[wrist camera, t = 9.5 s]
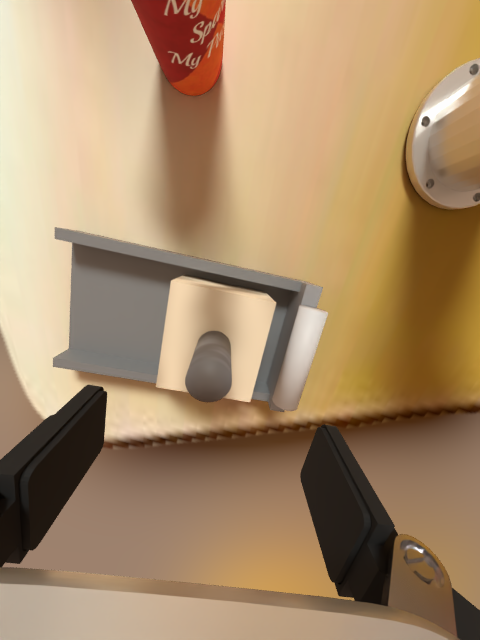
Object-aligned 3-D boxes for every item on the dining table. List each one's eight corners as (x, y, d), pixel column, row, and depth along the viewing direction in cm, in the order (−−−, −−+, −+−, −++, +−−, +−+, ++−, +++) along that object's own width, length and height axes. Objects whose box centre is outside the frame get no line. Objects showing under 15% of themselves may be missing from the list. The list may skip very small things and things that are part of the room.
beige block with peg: (265, 292, 26) (296, 322, 14) (245, 372, 28) (258, 453, 17) (184, 274, 25) (146, 291, 13) (171, 359, 27) (129, 435, 16)
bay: (309, 282, 27) (340, 292, 20) (278, 387, 30) (294, 429, 23) (78, 230, 24) (14, 220, 17) (74, 353, 28) (19, 388, 20)
